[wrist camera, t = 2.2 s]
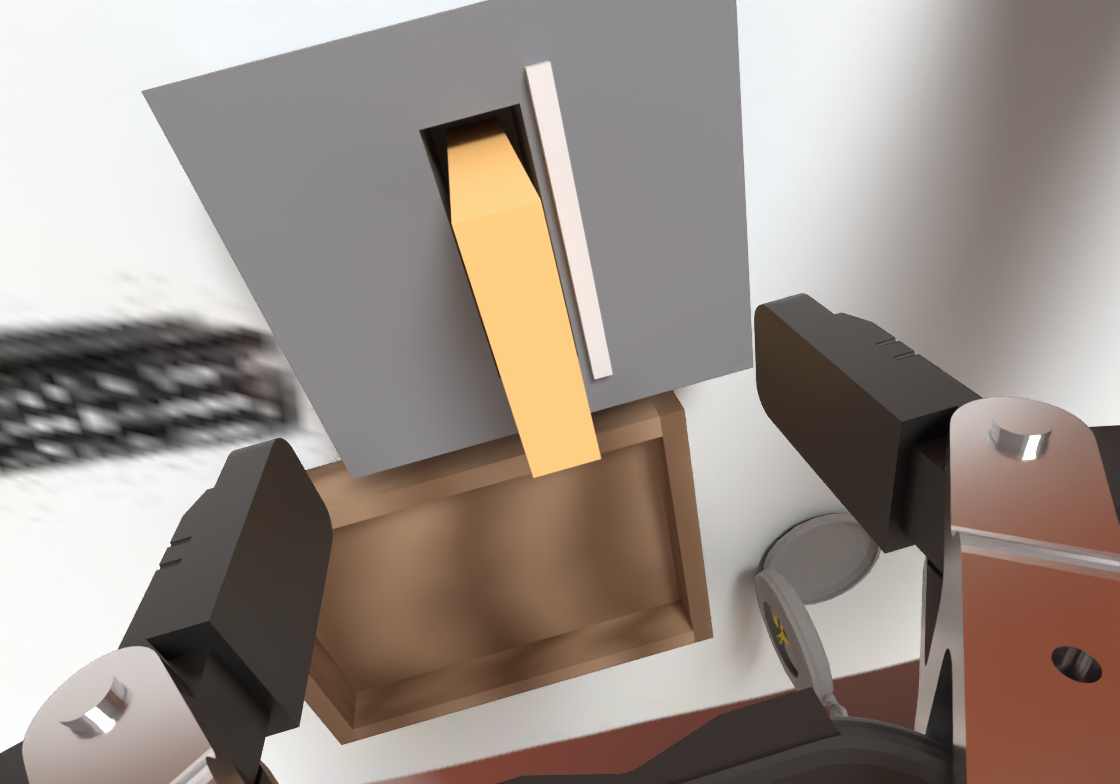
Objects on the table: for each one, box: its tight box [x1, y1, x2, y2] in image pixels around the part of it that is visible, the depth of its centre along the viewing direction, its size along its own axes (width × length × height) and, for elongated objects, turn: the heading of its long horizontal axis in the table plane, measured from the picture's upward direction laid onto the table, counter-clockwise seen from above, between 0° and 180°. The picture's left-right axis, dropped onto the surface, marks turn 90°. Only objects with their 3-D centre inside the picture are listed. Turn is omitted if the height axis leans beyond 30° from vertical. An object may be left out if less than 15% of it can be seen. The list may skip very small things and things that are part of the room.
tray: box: [304, 390, 713, 745], centre depth 29 cm, size 20×15×3 cm
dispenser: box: [141, 0, 753, 479], centre depth 19 cm, size 14×12×5 cm
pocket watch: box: [755, 514, 881, 716], centre depth 30 cm, size 8×8×10 cm
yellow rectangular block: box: [446, 117, 601, 478], centre depth 16 cm, size 2×6×10 cm, turn 13°
